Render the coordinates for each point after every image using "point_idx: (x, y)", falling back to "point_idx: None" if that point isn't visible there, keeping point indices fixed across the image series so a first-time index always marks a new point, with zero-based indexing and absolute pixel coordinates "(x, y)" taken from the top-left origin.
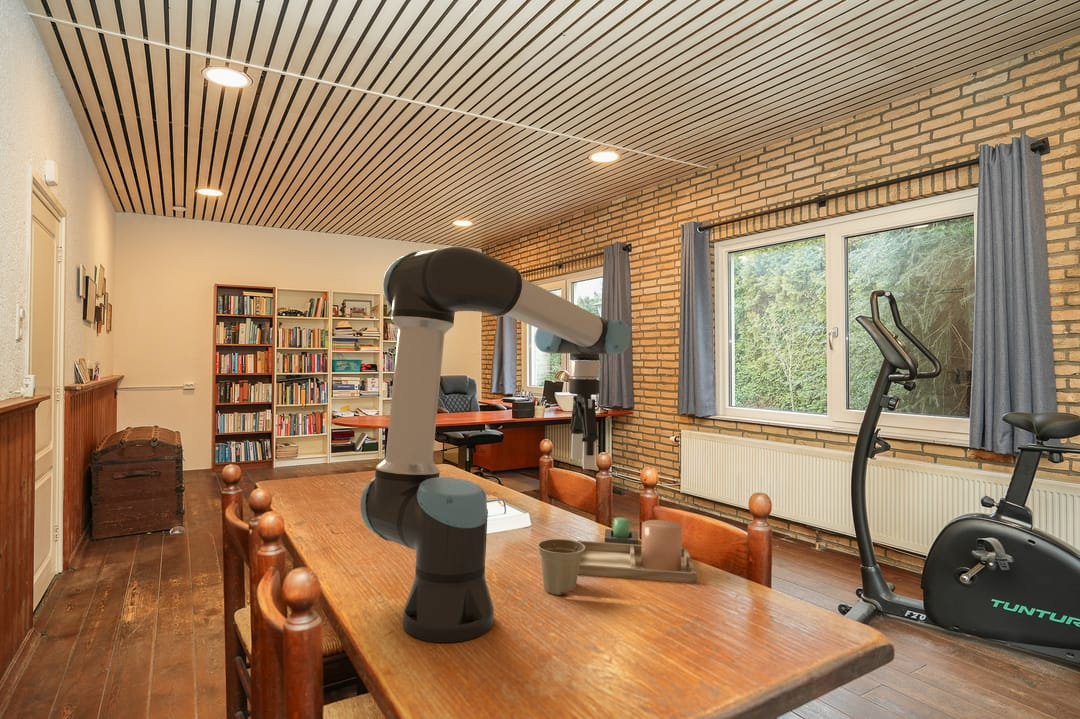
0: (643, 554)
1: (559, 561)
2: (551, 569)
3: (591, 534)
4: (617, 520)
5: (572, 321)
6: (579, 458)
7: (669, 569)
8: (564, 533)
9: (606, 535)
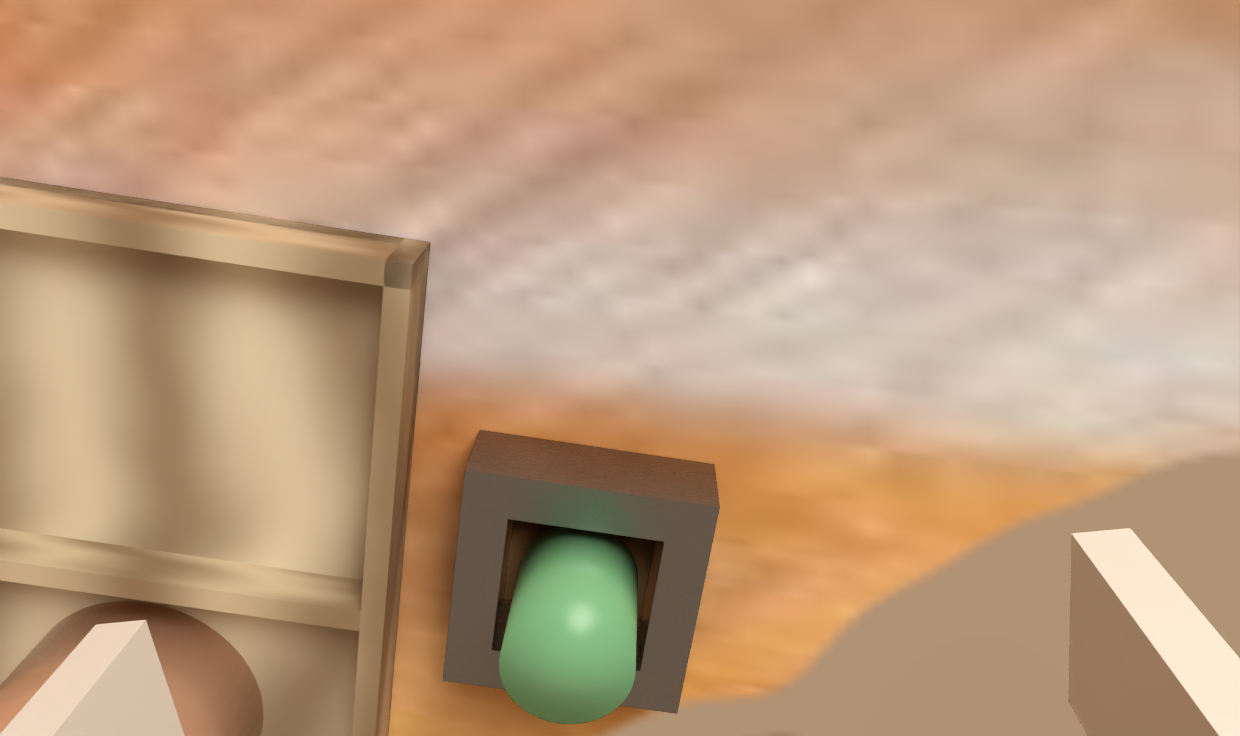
0: (50, 654)
1: None
2: None
3: (890, 387)
4: (527, 631)
5: None
6: (1077, 669)
7: None
8: (919, 172)
9: (537, 491)
